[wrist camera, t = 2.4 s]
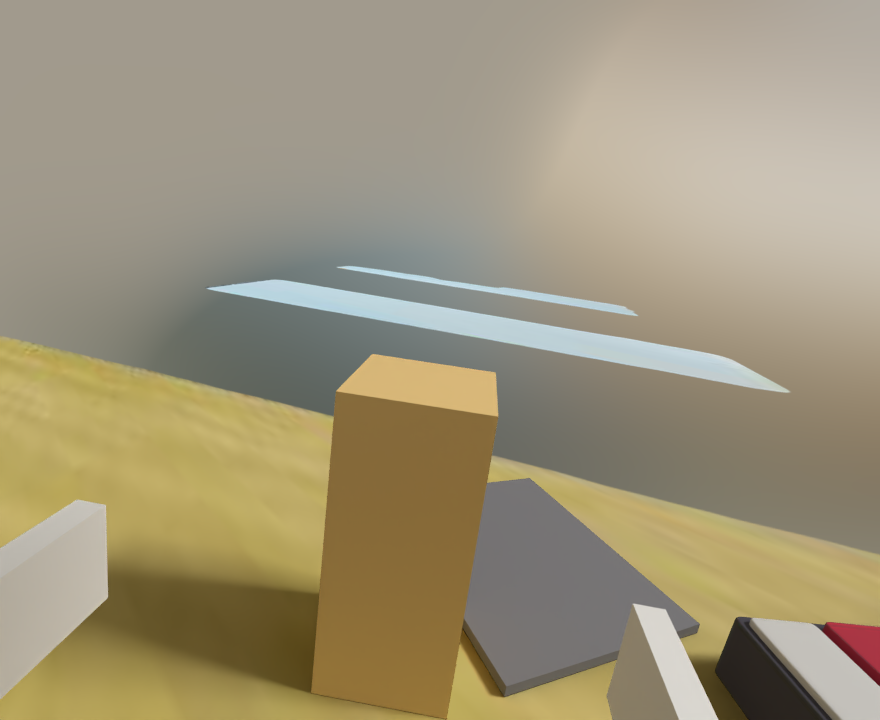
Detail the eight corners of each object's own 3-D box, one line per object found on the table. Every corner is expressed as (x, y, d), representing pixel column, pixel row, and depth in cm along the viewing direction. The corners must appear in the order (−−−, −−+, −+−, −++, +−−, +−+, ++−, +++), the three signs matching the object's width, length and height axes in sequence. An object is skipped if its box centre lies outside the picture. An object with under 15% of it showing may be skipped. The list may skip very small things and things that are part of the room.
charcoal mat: (697, 632, 28) (699, 624, 28) (504, 696, 23) (506, 686, 23) (528, 484, 43) (529, 478, 43) (386, 501, 38) (387, 494, 37)
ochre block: (446, 719, 22) (498, 416, 18) (311, 693, 22) (336, 391, 18) (455, 616, 27) (495, 372, 24) (348, 597, 28) (372, 354, 24)
